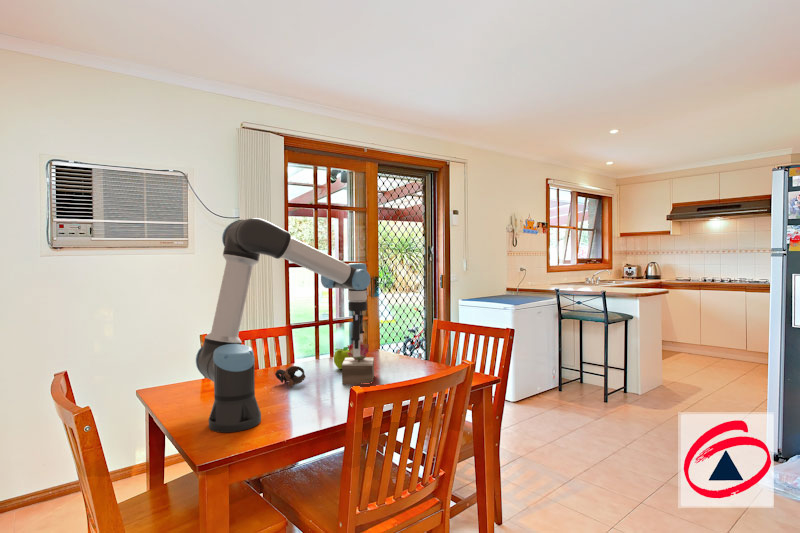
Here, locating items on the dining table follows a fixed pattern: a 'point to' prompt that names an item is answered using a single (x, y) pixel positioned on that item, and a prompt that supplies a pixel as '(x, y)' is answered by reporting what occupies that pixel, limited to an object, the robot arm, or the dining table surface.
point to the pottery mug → (290, 375)
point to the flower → (363, 351)
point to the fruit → (341, 356)
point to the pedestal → (358, 371)
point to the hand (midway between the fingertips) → (358, 352)
